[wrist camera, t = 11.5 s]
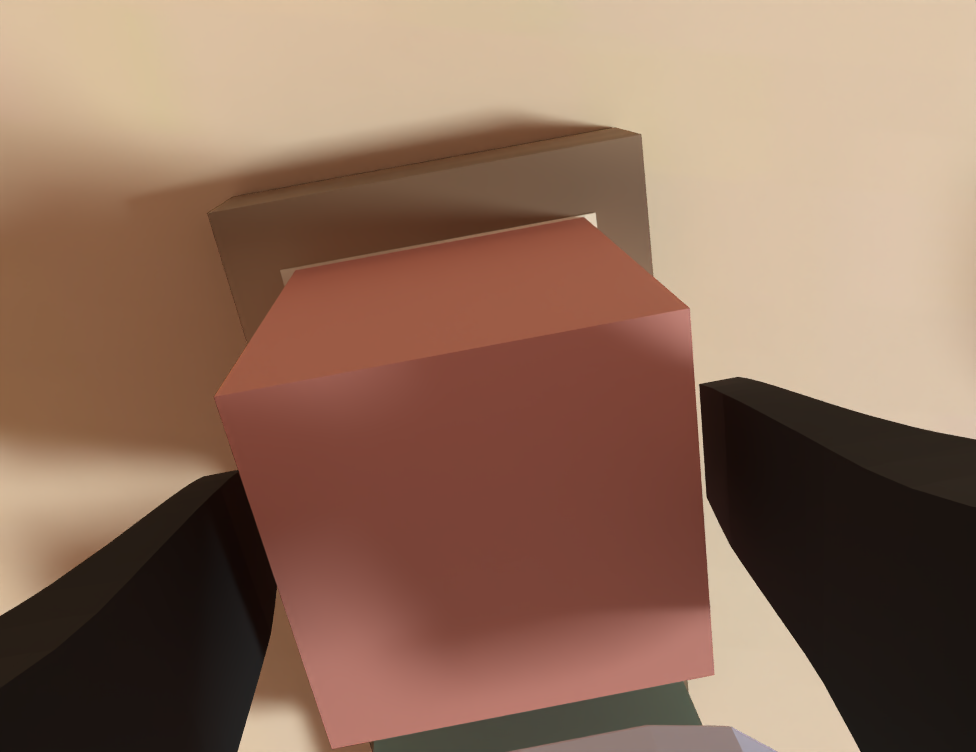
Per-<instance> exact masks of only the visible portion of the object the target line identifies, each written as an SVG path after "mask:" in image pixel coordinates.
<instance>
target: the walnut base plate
mask: <svg viewBox="0 0 976 752" xmlns="http://www.w3.org/2000/svg"><path fill="white" fill-rule="evenodd" d="M207 214H208V217H209V220H210V223H211V227H212V230H213V233H214V236H215V240H216V243H217V246H218V249H219V253H220V256H221V259H222V263H223V266H224V269H225V272H226V276H227V279H228V282H229V285H230V289H231V292H232V295H233V298H234V302H235V305H236V308H237V311H238V315H239V318H240V321H241V325H242V328H243V331H244V334H245V338H246V341H247V344H248V343H249V341H250V340H251V338H252V337H253V335H254V334H255V332H256V331H257V329H258V327H259V326H260V324H261V323H262V321H263V320H264V318H265V317H266V315H267V313H268V312H269V310H270V309H271V307H272V306H273V304H274V303H275V301H276V299H277V298H278V296H279V295H280V293H281V292H282V290H283V289H284V287H285V285H286V284H287V282H288V281H289V279H290V278H291V276H292V275H293V273H294V272H295V270H300V269H305V268H310V267H316V266H321V265H327V264H332V263H338V262H343V261H348V260H354V259H359V258H365V257H370V256H376V255H381V254H386V253H392V252H397V251H403V250H408V249H414V248H419V247H424V246H430V245H435V244H441V243H446V242H452V241H457V240H462V239H468V238H473V237H479V236H484V235H490V234H495V233H500V232H506V231H511V230H517V229H522V228H528V227H533V226H538V225H544V224H549V223H555V222H560V221H566V220H571V219H576V218H582V217H585V218H586V219H587V220H588V221H589V222H590V223H592V224H593V225H594V226H595V227H596V228H597V229H598V230H600V231H601V232H602V233H603V234H604V235H605V236H607V237H608V238H609V239H610V240H611V241H612V242H614V243H615V244H616V245H617V246H618V247H619V248H620V249H622V250H623V251H624V252H625V253H626V254H627V255H629V256H630V257H631V258H632V259H633V260H634V261H636V262H637V263H638V264H639V265H640V266H641V267H642V268H644V269H645V270H646V271H647V272H648V273H649V274H651V275H652V276H653V267H652V255H651V244H650V232H649V220H648V208H647V196H646V184H645V172H644V161H643V149H642V137H641V134H638V133H634V132H630V131H627V130H623V129H619V128H609V129H604V130H598V131H593V132H587V133H582V134H576V135H571V136H565V137H560V138H554V139H549V140H543V141H538V142H532V143H527V144H521V145H516V146H510V147H505V148H499V149H494V150H488V151H483V152H477V153H472V154H466V155H461V156H455V157H450V158H444V159H438V160H433V161H427V162H422V163H416V164H411V165H405V166H400V167H394V168H389V169H383V170H378V171H372V172H367V173H361V174H356V175H350V176H345V177H339V178H334V179H328V180H323V181H317V182H312V183H306V184H301V185H295V186H290V187H284V188H279V189H273V190H268V191H262V192H257V193H251V194H246V195H240V196H235V197H232V198H230V199H229V200H227V201H226V202H224V203H223V204H221V205H219V206H218V207H216V208H215V209H213V210H212V211H210V212H209V213H207ZM683 682H684V684H685V686H686V689H687V691H688V682H687V680H686V681H683ZM370 745H371V749H372V752H373V749H374V741H371V742H370Z"/></svg>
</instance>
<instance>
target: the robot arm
mask: <svg viewBox="0 0 976 752" xmlns="http://www.w3.org/2000/svg"><path fill="white" fill-rule="evenodd" d="M699 387H700V402H701V418H702V433H703V448H704V464H705V479H706V494H707V499H708V501H709V503H710V505H711V507H712V509H713V511H714V514H715V516H716V518H717V520H718V522H719V524H720V526H721V528H722V530H723V532H724V534H725V536H726V538H727V540H728V542H729V544H730V546H731V547H732V549H733V550H734V552H735V553H736V555H737V556H738V558H739V559H740V561H741V562H742V564H743V565H744V567H745V568H746V570H747V571H748V573H749V574H750V576H751V577H752V579H753V580H754V581H755V583H756V584H757V586H758V587H759V589H760V590H761V592H762V593H763V594H764V596H765V597H766V599H767V600H768V602H769V603H770V604H771V606H772V607H773V609H774V610H775V612H776V613H777V615H778V616H779V617H780V619H781V620H782V622H783V623H784V625H785V626H786V627H787V629H788V630H789V632H790V633H791V635H792V636H793V638H794V639H795V640H796V642H797V643H798V645H799V646H800V648H801V649H802V650H803V652H804V653H805V655H806V656H807V658H808V659H809V661H810V662H811V664H812V666H813V667H814V669H815V670H816V672H817V674H818V675H819V677H820V678H821V680H822V682H823V683H824V685H825V687H826V689H827V690H828V692H829V694H830V696H831V698H832V700H833V701H834V703H835V705H836V707H837V709H838V711H839V712H840V714H841V716H842V718H843V720H844V722H845V723H846V725H847V727H848V729H849V731H850V733H851V734H852V736H853V738H854V740H855V742H856V744H857V746H858V747H859V749H860V751H861V752H976V440H975V439H970V438H965V437H959V436H954V435H948V434H943V433H938V432H933V431H929V430H924V429H920V428H915V427H911V426H907V425H903V424H900V423H896V422H892V421H888V420H884V419H881V418H877V417H873V416H869V415H866V414H862V413H859V412H856V411H852V410H849V409H846V408H842V407H839V406H836V405H833V404H829V403H826V402H823V401H820V400H817V399H814V398H811V397H808V396H804V395H801V394H798V393H795V392H792V391H789V390H786V389H783V388H780V387H777V386H773V385H770V384H767V383H763V382H760V381H756V380H752V379H748V378H742V377H735V378H729V379H724V380H719V381H713V382H708V383H703V384H699ZM276 590H277V584H276V581H275V578H274V575H273V572H272V569H271V566H270V563H269V560H268V557H267V554H266V551H265V548H264V545H263V542H262V539H261V536H260V533H259V530H258V527H257V524H256V521H255V518H254V515H253V512H252V509H251V506H250V504H249V501H248V498H247V495H246V492H245V489H244V486H243V483H242V480H241V477H240V474H239V471H238V470H236V471H230V472H225V473H220V474H214V475H209V476H204V477H202V478H200V479H198V480H196V481H194V482H192V483H191V484H189V485H188V486H186V487H185V488H183V489H182V490H180V491H179V492H177V493H176V494H174V495H173V496H172V497H170V498H169V499H168V500H166V501H165V502H164V503H162V504H161V505H160V506H158V507H157V508H156V509H154V510H153V511H152V512H150V513H149V514H148V515H146V516H145V517H144V518H142V519H141V520H140V521H138V522H137V523H136V524H134V525H133V526H132V527H130V528H129V529H128V530H126V531H125V532H124V533H122V534H121V535H120V536H118V537H117V538H116V539H114V540H113V541H112V542H110V543H109V544H108V545H106V546H105V547H103V548H102V549H101V550H99V551H98V552H96V553H95V554H93V555H92V556H91V557H89V558H88V559H86V560H85V561H84V562H82V563H81V564H79V565H78V566H76V567H75V568H74V569H72V570H71V571H69V572H68V573H66V574H65V575H64V576H62V577H61V578H59V579H58V580H57V581H55V582H54V583H52V584H51V585H49V586H48V587H46V588H45V589H43V590H42V591H40V592H39V593H37V594H35V595H34V596H32V597H31V598H29V599H27V600H26V601H24V602H23V603H21V604H20V605H18V606H16V607H15V608H13V609H11V610H9V611H8V612H6V613H4V614H3V615H1V616H0V752H237V751H238V748H239V744H240V741H241V738H242V734H243V731H244V727H245V724H246V720H247V717H248V713H249V710H250V706H251V703H252V700H253V696H254V693H255V689H256V686H257V682H258V679H259V675H260V672H261V668H262V664H263V661H264V657H265V654H266V650H267V646H268V643H269V639H270V635H271V629H272V622H273V615H274V608H275V599H276ZM508 752H777V751H775V750H773V749H772V748H770V747H768V746H766V745H764V744H762V743H760V742H759V741H757V740H755V739H753V738H751V737H749V736H747V735H746V734H744V733H742V732H740V731H738V730H736V729H734V728H733V727H729V726H701V725H643V726H638V727H633V728H628V729H622V730H617V731H612V732H607V733H602V734H596V735H591V736H586V737H581V738H576V739H570V740H565V741H560V742H555V743H550V744H544V745H539V746H534V747H529V748H524V749H518V750H513V751H508Z"/></svg>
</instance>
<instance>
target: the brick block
mask: <svg viewBox="0 0 976 752" xmlns="http://www.w3.org/2000/svg"><path fill="white" fill-rule="evenodd" d="M214 399H215V402H216V405H217V408H218V411H219V414H220V417H221V420H222V423H223V426H224V429H225V432H226V435H227V438H228V441H229V444H230V447H231V450H232V453H233V456H234V459H235V462H236V465H237V468H238V471H239V474H240V477H241V480H242V483H243V486H244V489H245V492H246V495H247V498H248V501H249V504H250V506H251V509H252V512H253V515H254V518H255V521H256V524H257V527H258V530H259V533H260V536H261V539H262V542H263V545H264V548H265V551H266V554H267V557H268V560H269V563H270V566H271V569H272V572H273V575H274V578H275V581H276V584H277V587H278V590H279V593H280V596H281V599H282V602H283V605H284V608H285V611H286V614H287V617H288V620H289V623H290V626H291V629H292V632H293V635H294V638H295V641H296V644H297V647H298V650H299V653H300V656H301V659H302V662H303V665H304V668H305V671H306V674H307V676H308V679H309V682H310V685H311V688H312V691H313V694H314V697H315V700H316V703H317V706H318V709H319V712H320V715H321V718H322V721H323V724H324V727H325V730H326V733H327V736H328V739H329V742H330V745H331V748H332V749H335V748H340V747H345V746H351V745H356V744H361V743H366V742H371V741H376V740H381V739H387V738H392V737H397V736H402V735H407V734H412V733H418V732H423V731H428V730H433V729H438V728H443V727H449V726H454V725H459V724H464V723H469V722H474V721H479V720H485V719H490V718H495V717H500V716H505V715H510V714H516V713H521V712H526V711H531V710H536V709H541V708H547V707H552V706H557V705H562V704H567V703H572V702H577V701H583V700H588V699H593V698H598V697H603V696H608V695H614V694H619V693H624V692H629V691H634V690H639V689H645V688H650V687H655V686H660V685H665V684H670V683H675V682H681V681H686V680H691V679H696V678H701V677H706V676H712V675H714V662H713V647H712V632H711V617H710V602H709V588H708V573H707V558H706V543H705V528H704V513H703V499H702V484H701V469H700V454H699V439H698V424H697V410H696V395H695V380H694V365H693V350H692V335H691V321H690V308H689V307H688V306H687V305H685V304H684V303H683V302H682V301H681V300H680V299H678V298H677V297H676V296H675V295H674V294H673V293H671V292H670V291H669V290H668V289H667V288H666V287H665V286H663V285H662V284H661V283H660V282H659V281H658V280H656V279H655V278H654V277H653V276H652V275H651V274H649V273H648V272H647V271H646V270H645V269H644V268H642V267H641V266H640V265H639V264H638V263H637V262H636V261H634V260H633V259H632V258H631V257H630V256H629V255H627V254H626V253H625V252H624V251H623V250H622V249H620V248H619V247H618V246H617V245H616V244H615V243H614V242H612V241H611V240H610V239H609V238H608V237H607V236H605V235H604V234H603V233H602V232H601V231H600V230H598V229H597V228H596V227H595V226H594V225H593V224H592V223H590V222H589V221H588V220H587V219H586V218H585V217H582V218H576V219H571V220H566V221H560V222H555V223H549V224H544V225H538V226H533V227H528V228H522V229H517V230H511V231H506V232H500V233H495V234H490V235H484V236H479V237H473V238H468V239H462V240H457V241H452V242H446V243H441V244H435V245H430V246H424V247H419V248H414V249H408V250H403V251H397V252H392V253H386V254H381V255H376V256H370V257H365V258H359V259H354V260H348V261H343V262H338V263H332V264H327V265H321V266H316V267H310V268H305V269H300V270H295V272H294V273H293V275H292V276H291V278H290V279H289V281H288V282H287V284H286V285H285V287H284V289H283V290H282V292H281V293H280V295H279V296H278V298H277V299H276V301H275V303H274V304H273V306H272V307H271V309H270V310H269V312H268V313H267V315H266V317H265V318H264V320H263V321H262V323H261V324H260V326H259V327H258V329H257V331H256V332H255V334H254V335H253V337H252V338H251V340H250V341H249V343H248V345H247V346H246V348H245V349H244V351H243V352H242V354H241V355H240V357H239V359H238V360H237V362H236V363H235V365H234V366H233V368H232V369H231V371H230V372H229V374H228V376H227V377H226V379H225V380H224V382H223V383H222V385H221V386H220V388H219V390H218V391H217V393H216V394H215V396H214Z"/></svg>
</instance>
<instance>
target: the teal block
mask: <svg viewBox="0 0 976 752" xmlns="http://www.w3.org/2000/svg"><path fill="white" fill-rule="evenodd" d="M643 725H701V726H703V725H702V723H701V721H700V719H699V716H698V714H697V712H696V709H695V707H694V705H693V702H692V700H691V698H690V696H689V693H688V691H687V689H686V686H685V684H684V682H683V681H681V682H675V683H670V684H665V685H660V686H655V687H650V688H645V689H639V690H634V691H629V692H624V693H619V694H614V695H608V696H603V697H598V698H593V699H588V700H583V701H577V702H572V703H567V704H562V705H557V706H552V707H547V708H541V709H536V710H531V711H526V712H521V713H516V714H510V715H505V716H500V717H495V718H490V719H485V720H479V721H474V722H469V723H464V724H459V725H454V726H449V727H443V728H438V729H433V730H428V731H423V732H418V733H412V734H407V735H402V736H397V737H392V738H387V739H381V740H376V741H374V749H373V752H508V751H513V750H518V749H524V748H529V747H534V746H539V745H544V744H550V743H555V742H560V741H565V740H570V739H576V738H581V737H586V736H591V735H596V734H602V733H607V732H612V731H617V730H622V729H628V728H633V727H638V726H643Z"/></svg>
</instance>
